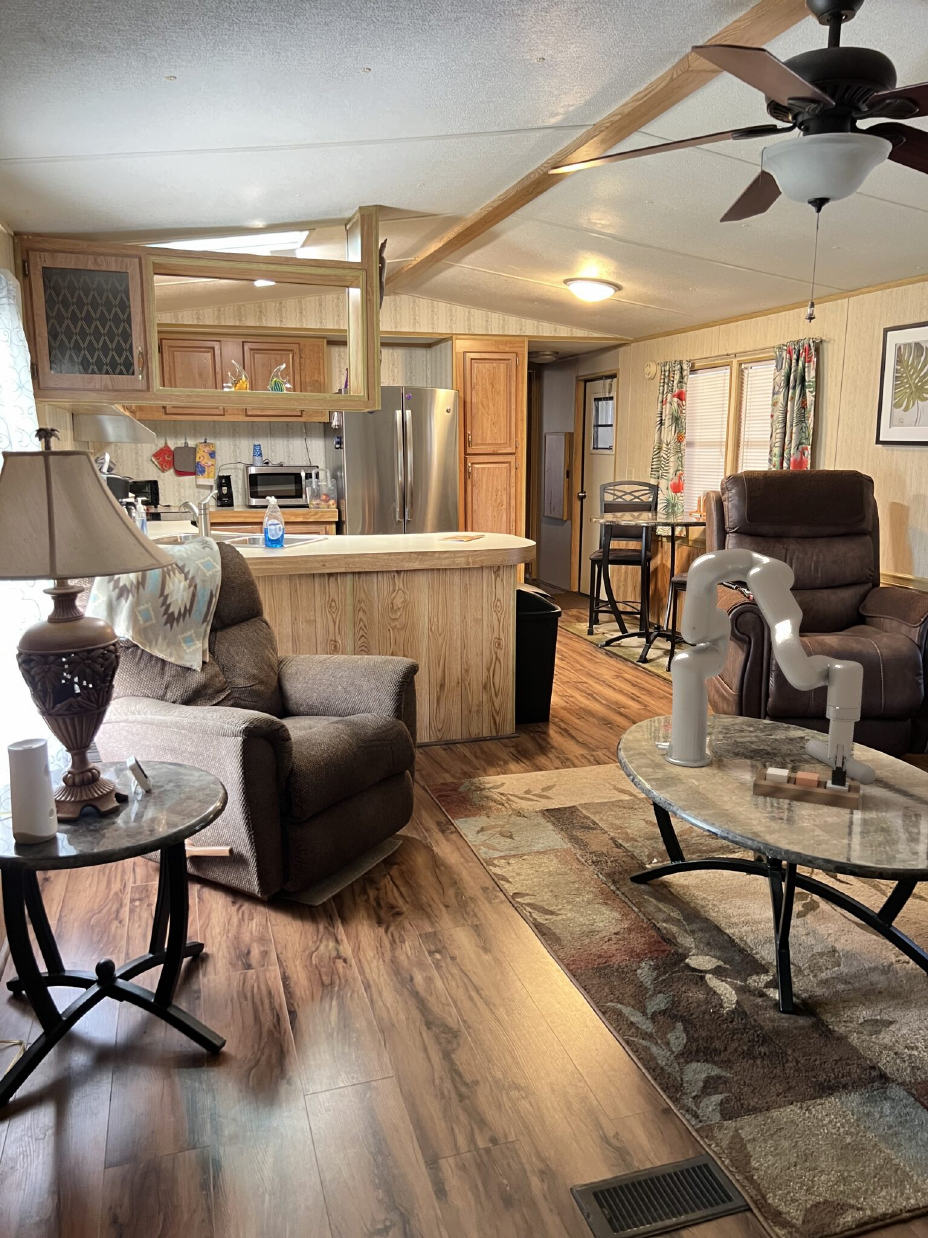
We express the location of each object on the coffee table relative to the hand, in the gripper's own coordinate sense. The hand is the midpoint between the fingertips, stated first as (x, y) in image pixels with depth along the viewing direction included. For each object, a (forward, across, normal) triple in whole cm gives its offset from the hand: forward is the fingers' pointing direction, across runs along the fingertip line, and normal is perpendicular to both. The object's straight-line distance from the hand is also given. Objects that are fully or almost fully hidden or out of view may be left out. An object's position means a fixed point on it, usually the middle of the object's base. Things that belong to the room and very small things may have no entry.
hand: (838, 784), depth 218 cm
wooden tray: (+4, 0, -7) cm, 8 cm away
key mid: (+2, 0, -7) cm, 7 cm away
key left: (+2, 0, -14) cm, 14 cm away
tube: (+4, -24, 0) cm, 24 cm away
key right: (+3, 0, 0) cm, 3 cm away
